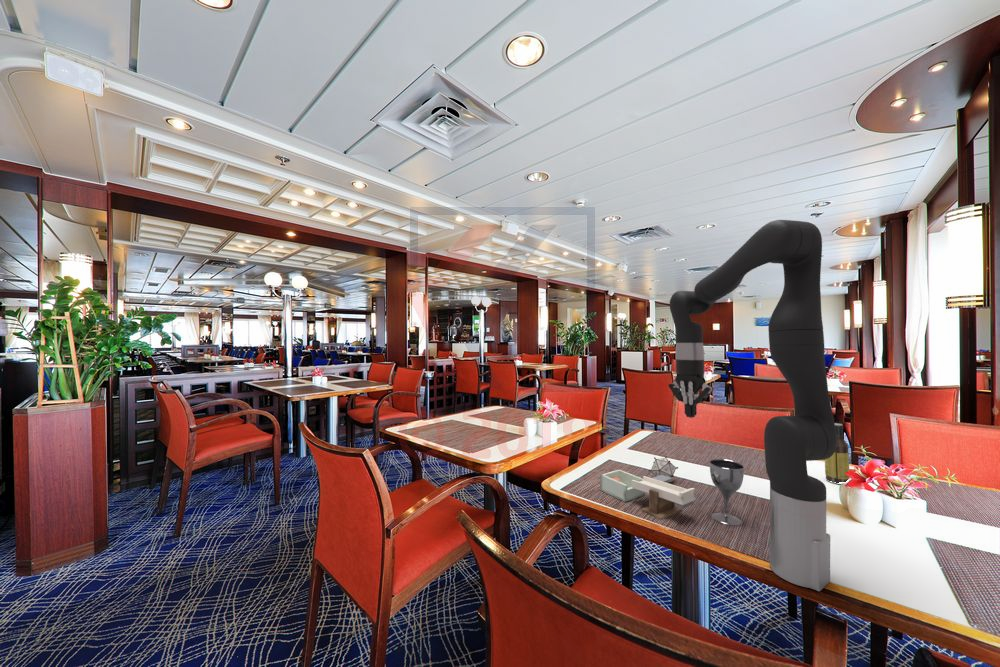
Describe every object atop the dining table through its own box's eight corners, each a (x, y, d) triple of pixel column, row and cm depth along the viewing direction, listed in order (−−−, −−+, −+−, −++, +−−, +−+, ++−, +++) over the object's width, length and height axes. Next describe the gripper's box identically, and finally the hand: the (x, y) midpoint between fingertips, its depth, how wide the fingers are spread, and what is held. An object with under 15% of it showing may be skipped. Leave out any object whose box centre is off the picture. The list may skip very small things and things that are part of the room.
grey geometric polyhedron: (669, 493, 125) (683, 476, 119) (644, 482, 127) (657, 465, 121) (668, 472, 132) (682, 455, 126) (645, 462, 134) (657, 445, 128)
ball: (625, 484, 118) (619, 474, 120) (618, 486, 116) (612, 476, 118) (619, 489, 120) (613, 479, 122) (612, 491, 118) (606, 481, 120)
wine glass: (727, 528, 96) (727, 470, 96) (702, 513, 103) (703, 460, 103) (751, 523, 98) (751, 467, 98) (725, 510, 105) (725, 457, 105)
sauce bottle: (850, 482, 126) (850, 424, 126) (849, 487, 121) (849, 427, 122) (825, 476, 130) (825, 420, 130) (823, 481, 126) (823, 423, 126)
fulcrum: (682, 510, 105) (682, 487, 105) (660, 520, 100) (660, 496, 100) (663, 502, 110) (663, 480, 110) (641, 511, 105) (641, 488, 105)
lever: (712, 497, 104) (711, 481, 104) (683, 509, 96) (682, 493, 97) (661, 481, 118) (661, 468, 118) (632, 491, 110) (631, 477, 110)
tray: (644, 495, 115) (644, 479, 115) (625, 502, 110) (625, 485, 110) (618, 484, 123) (619, 469, 123) (600, 490, 118) (600, 474, 118)
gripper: (719, 358, 105) (720, 419, 105) (675, 357, 116) (676, 412, 116) (705, 359, 101) (706, 422, 101) (661, 357, 112) (662, 414, 112)
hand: (690, 416), depth 108 cm, fingers closed
